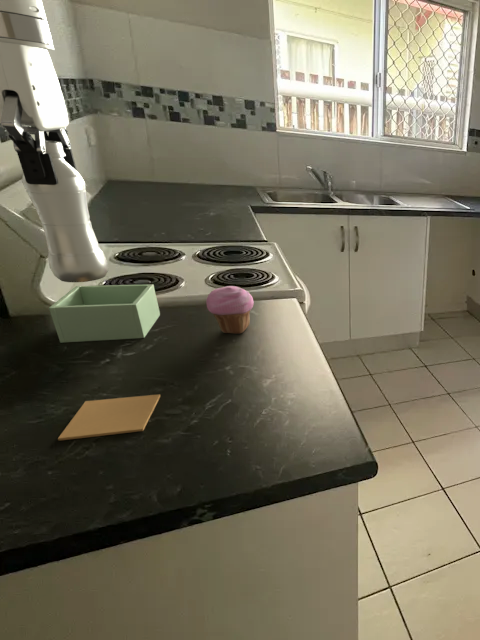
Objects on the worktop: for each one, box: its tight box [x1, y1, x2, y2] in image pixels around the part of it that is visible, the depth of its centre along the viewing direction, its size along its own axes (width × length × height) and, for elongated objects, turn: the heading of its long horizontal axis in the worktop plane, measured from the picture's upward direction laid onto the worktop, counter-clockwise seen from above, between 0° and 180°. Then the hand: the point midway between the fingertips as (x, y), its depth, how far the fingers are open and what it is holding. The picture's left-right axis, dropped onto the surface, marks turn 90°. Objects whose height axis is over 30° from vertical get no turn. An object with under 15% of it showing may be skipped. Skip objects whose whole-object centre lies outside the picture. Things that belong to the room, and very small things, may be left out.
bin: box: [48, 283, 161, 344], centre depth 98 cm, size 14×13×7 cm
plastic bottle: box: [21, 141, 109, 283], centre depth 69 cm, size 6×7×20 cm
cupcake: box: [206, 285, 255, 334], centre depth 102 cm, size 9×9×10 cm
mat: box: [57, 393, 161, 442], centre depth 73 cm, size 10×10×1 cm
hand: (54, 179), depth 67 cm, fingers closed on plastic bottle, 6 cm apart
